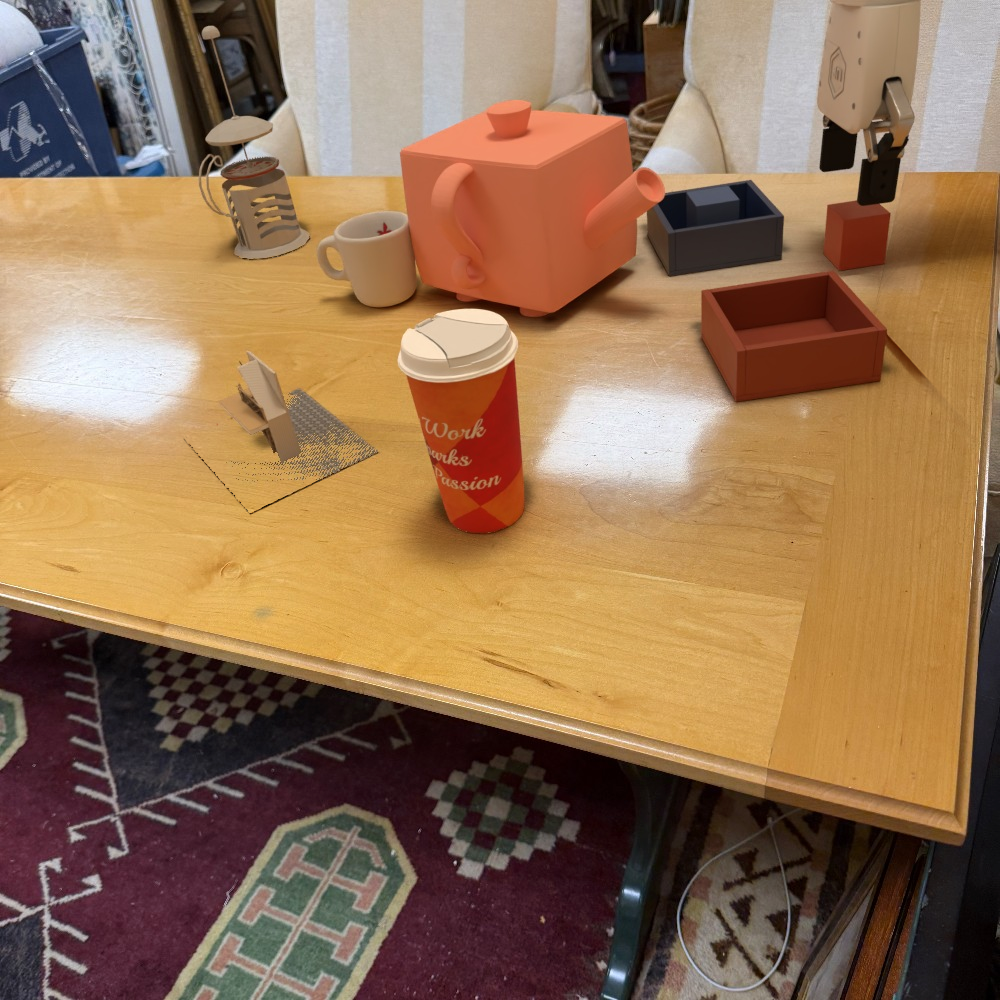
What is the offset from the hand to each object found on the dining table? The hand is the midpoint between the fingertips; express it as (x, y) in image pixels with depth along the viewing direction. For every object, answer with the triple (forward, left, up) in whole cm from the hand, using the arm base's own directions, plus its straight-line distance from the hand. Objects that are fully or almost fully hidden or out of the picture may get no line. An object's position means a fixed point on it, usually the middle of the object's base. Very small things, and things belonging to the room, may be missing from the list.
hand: (854, 185), depth 85 cm
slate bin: (+11, -8, -7) cm, 16 cm away
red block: (-1, 0, -7) cm, 7 cm away
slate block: (+11, -8, -7) cm, 15 cm away
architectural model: (+54, +19, -8) cm, 58 cm away
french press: (+62, -29, -7) cm, 69 cm away
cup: (+47, -8, -8) cm, 49 cm away
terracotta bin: (+11, +17, -7) cm, 22 cm away
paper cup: (+37, +32, -8) cm, 50 cm away
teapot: (+28, -3, -7) cm, 30 cm away
